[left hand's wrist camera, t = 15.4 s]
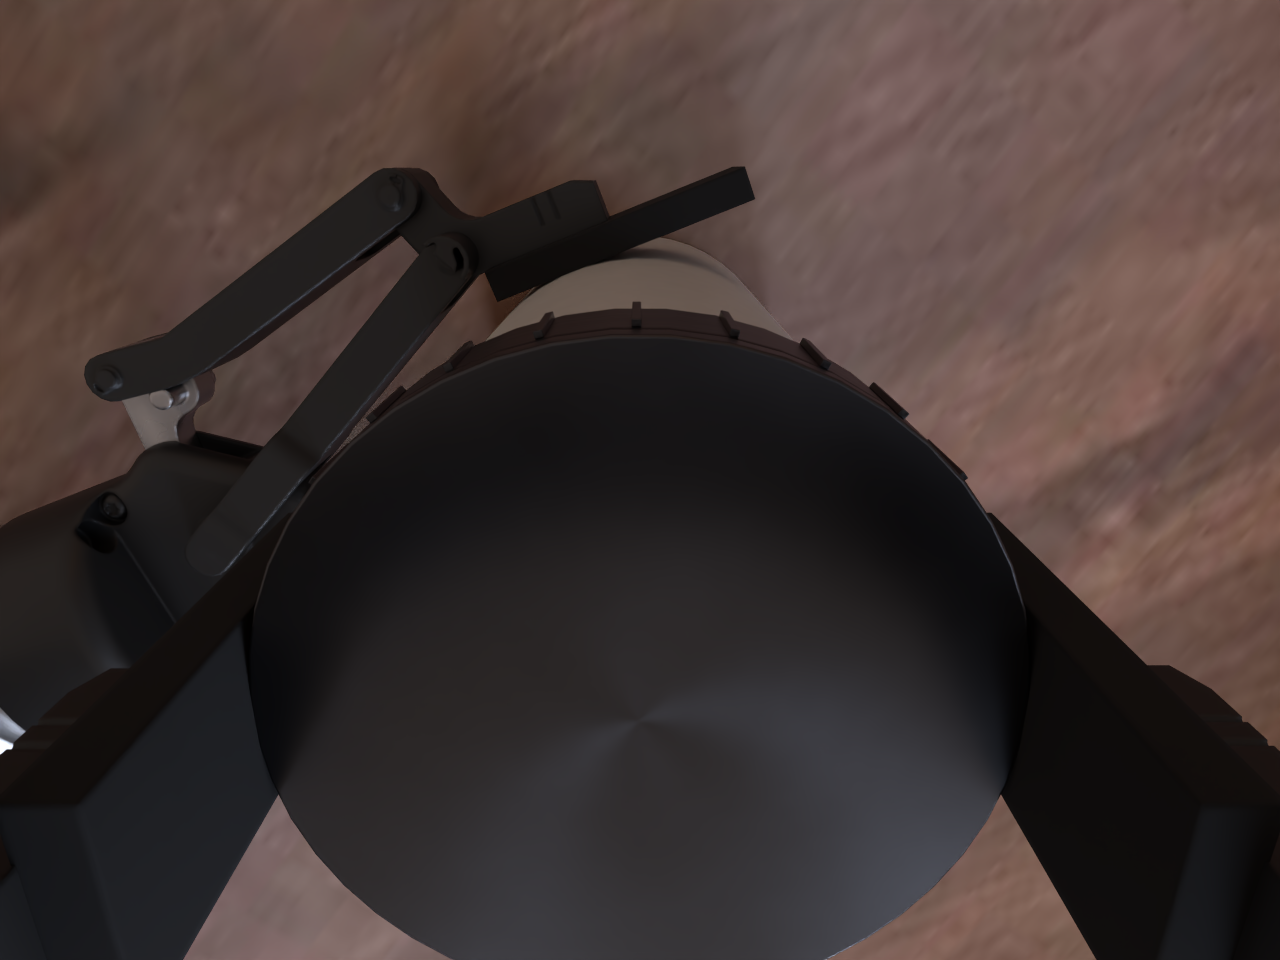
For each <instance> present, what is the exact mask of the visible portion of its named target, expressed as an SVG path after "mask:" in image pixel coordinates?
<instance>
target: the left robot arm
mask: <svg viewBox="0 0 1280 960" xmlns="http://www.w3.org/2000/svg"><path fill="white" fill-rule="evenodd" d="M987 514H988V516H989V517H990V519H991V520H992V522H993V524H994V526H995V528H996V530H997V533H998V535H999V537H1000V539H1001V541H1002V543H1003V545H1004V547H1005V550H1006V552H1007V554H1008V556H1009V558H1010V560H1011V563H1012V565H1013V568H1014V571H1015V575H1016V578H1017V582H1018V585H1019V589H1020V592H1021V596H1022V599H1023V603H1024V606H1025V610H1026V619H1027V627H1028V635H1029V644H1030V652H1031V664H1030V692H1029V698H1028V704H1027V709H1026V715H1025V720H1024V725H1023V730H1022V736H1021V741H1020V746H1019V749H1018V752H1017V755H1016V758H1015V761H1014V764H1013V766H1012V769H1011V772H1010V775H1009V778H1008V781H1007V783H1006V785H1005V787H1004V789H1003V791H1002V793H1001V795H1002V797H1003V799H1004V800H1005V802H1006V804H1007V806H1008V807H1009V809H1010V811H1011V812H1012V814H1013V816H1014V818H1015V819H1016V821H1017V823H1018V825H1019V826H1020V828H1021V830H1022V832H1023V833H1024V835H1025V837H1026V838H1027V840H1028V842H1029V844H1030V845H1031V847H1032V849H1033V851H1034V852H1035V854H1036V856H1037V857H1038V859H1039V861H1040V863H1041V864H1042V866H1043V868H1044V870H1045V871H1046V873H1047V875H1048V877H1049V878H1050V880H1051V882H1052V883H1053V885H1054V887H1055V889H1056V890H1057V892H1058V894H1059V896H1060V897H1061V899H1062V901H1063V903H1064V904H1065V906H1066V908H1067V909H1068V911H1069V913H1070V915H1071V916H1072V918H1073V920H1074V922H1075V923H1076V925H1077V927H1078V928H1079V930H1080V932H1081V934H1082V935H1083V937H1084V939H1085V941H1086V942H1087V944H1088V946H1089V948H1090V949H1091V951H1092V953H1093V954H1094V956H1095V958H1096V960H1280V751H1279V750H1278V749H1277V748H1276V747H1275V746H1268V743H1267V739H1266V738H1265V737H1264V736H1262V735H1261V734H1260V733H1259V732H1258V731H1257V730H1256V729H1255V728H1254V727H1253V726H1252V725H1250V724H1249V723H1248V722H1242V716H1241V715H1239V714H1238V713H1237V712H1236V711H1235V710H1234V709H1233V708H1232V707H1231V706H1230V705H1228V704H1227V703H1226V702H1225V701H1224V700H1223V699H1222V698H1221V697H1220V696H1219V695H1217V694H1216V693H1215V692H1214V691H1213V690H1212V689H1210V688H1209V687H1207V686H1205V685H1203V684H1202V683H1200V682H1198V681H1196V680H1194V679H1193V678H1191V677H1189V676H1187V675H1185V674H1184V673H1182V672H1180V671H1178V670H1177V669H1175V668H1173V667H1171V666H1169V665H1146V664H1145V663H1144V662H1143V661H1142V660H1141V659H1140V658H1139V657H1138V656H1137V655H1136V654H1135V653H1134V652H1133V651H1132V650H1131V649H1130V648H1129V647H1128V646H1127V645H1126V644H1125V643H1124V642H1123V641H1122V640H1121V639H1120V638H1119V637H1118V636H1117V635H1116V634H1115V633H1114V632H1113V631H1111V630H1110V629H1109V628H1108V627H1107V626H1106V625H1105V624H1104V623H1103V622H1102V621H1101V620H1100V619H1099V618H1098V617H1097V616H1096V615H1095V614H1094V613H1093V612H1092V611H1091V610H1090V609H1089V608H1088V607H1087V606H1086V605H1085V604H1084V603H1083V602H1082V601H1081V600H1080V599H1079V598H1078V597H1077V596H1076V595H1075V594H1074V593H1073V592H1072V591H1071V590H1070V589H1069V588H1068V587H1067V586H1066V585H1064V584H1063V583H1062V582H1061V581H1060V580H1059V579H1058V578H1057V577H1056V576H1055V575H1054V574H1053V573H1052V572H1051V571H1050V570H1049V569H1048V568H1047V567H1046V566H1045V565H1044V564H1043V563H1042V562H1041V561H1040V560H1039V559H1038V558H1037V557H1036V556H1035V555H1034V554H1033V553H1032V552H1031V551H1030V550H1029V549H1028V548H1027V547H1026V546H1025V545H1024V544H1023V543H1022V542H1021V541H1020V540H1019V539H1017V538H1016V537H1015V536H1014V535H1013V534H1012V533H1011V532H1010V531H1009V530H1008V529H1007V528H1006V527H1005V526H1004V525H1003V524H1002V523H1001V522H1000V521H999V520H998V519H997V518H996V517H995V516H994V515H993V514H992V513H987ZM291 515H292V513H287V514H286V515H285V516H284V517H283V518H282V519H281V520H280V521H279V522H278V523H277V524H276V525H275V526H274V527H273V528H272V529H271V530H270V531H269V532H268V533H267V534H266V535H265V536H264V537H263V538H262V539H261V540H260V541H259V542H258V543H257V544H256V545H255V546H254V547H253V548H252V549H251V550H250V551H249V552H248V553H247V554H246V555H245V556H244V557H243V558H241V559H240V560H239V561H238V562H237V563H236V564H235V565H234V566H233V567H232V568H231V569H230V570H229V571H228V572H227V573H226V574H225V575H224V576H223V577H222V578H221V579H220V580H219V581H218V582H217V583H216V584H215V585H214V586H213V587H212V588H211V589H210V590H209V591H208V592H207V593H206V594H205V595H204V596H203V597H202V598H201V599H200V600H199V601H198V602H197V603H196V604H194V605H193V606H192V607H191V608H190V609H189V610H188V611H187V612H186V613H185V614H184V615H183V616H182V617H181V618H180V619H179V620H178V621H177V622H176V623H175V624H174V625H173V626H172V627H171V628H170V629H169V630H168V631H167V632H166V633H165V634H164V635H163V636H162V637H161V638H160V639H159V640H158V641H157V642H156V643H155V644H154V645H153V646H152V647H151V648H150V649H148V650H147V651H146V652H145V653H144V654H143V655H142V656H141V657H140V658H139V659H138V660H137V661H136V662H135V663H134V664H133V665H132V666H131V667H130V668H110V669H109V670H107V671H105V672H103V673H102V674H100V675H98V676H96V677H94V678H93V679H91V680H89V681H87V682H86V683H84V684H82V685H80V686H78V687H77V688H75V689H73V690H71V691H70V692H68V693H67V694H66V695H65V696H64V697H63V698H62V699H61V700H59V701H58V702H57V703H56V704H55V705H54V706H53V707H52V708H51V709H50V710H49V711H47V712H46V713H45V714H44V715H43V716H42V717H41V718H40V719H39V720H38V721H39V722H38V725H32V726H31V727H30V728H29V729H28V730H27V731H26V732H25V733H23V734H22V735H21V736H20V737H19V738H18V739H17V740H16V741H15V742H14V743H13V747H12V749H6V750H5V751H4V752H3V753H2V754H1V755H0V960H183V959H184V957H185V955H186V954H187V952H188V950H189V948H190V947H191V945H192V943H193V941H194V940H195V938H196V936H197V934H198V933H199V931H200V929H201V928H202V926H203V924H204V922H205V921H206V919H207V917H208V915H209V914H210V912H211V910H212V909H213V907H214V905H215V903H216V902H217V900H218V898H219V896H220V895H221V893H222V891H223V889H224V888H225V886H226V884H227V883H228V881H229V879H230V877H231V876H232V874H233V872H234V870H235V869H236V867H237V865H238V863H239V862H240V860H241V858H242V857H243V855H244V853H245V851H246V850H247V848H248V846H249V844H250V843H251V841H252V839H253V837H254V836H255V834H256V832H257V831H258V829H259V827H260V825H261V824H262V822H263V820H264V818H265V817H266V815H267V813H268V812H269V810H270V808H271V806H272V805H273V803H274V801H275V799H276V798H277V796H278V792H277V790H276V788H275V786H274V784H273V782H272V780H271V777H270V774H269V771H268V768H267V765H266V763H265V760H264V757H263V754H262V751H261V748H260V744H259V739H258V734H257V729H256V723H255V718H254V713H253V708H252V702H251V697H250V683H249V646H250V638H251V630H252V622H253V614H254V607H255V604H256V601H257V597H258V594H259V590H260V587H261V583H262V580H263V576H264V573H265V570H266V566H267V563H268V561H269V559H270V557H271V555H272V553H273V550H274V548H275V546H276V544H277V542H278V540H279V538H280V536H281V534H282V531H283V529H284V527H285V525H286V523H287V521H288V519H289V518H290V516H291Z"/></svg>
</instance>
